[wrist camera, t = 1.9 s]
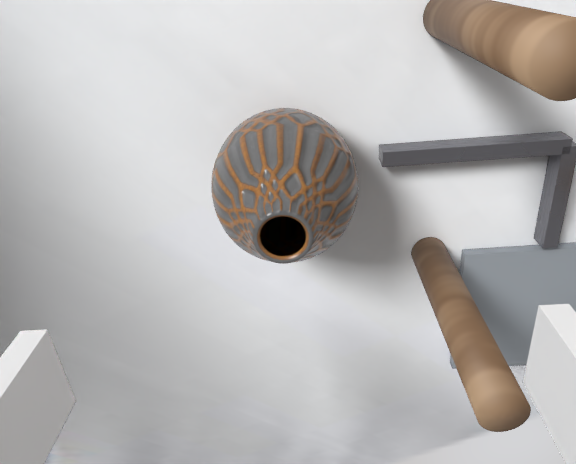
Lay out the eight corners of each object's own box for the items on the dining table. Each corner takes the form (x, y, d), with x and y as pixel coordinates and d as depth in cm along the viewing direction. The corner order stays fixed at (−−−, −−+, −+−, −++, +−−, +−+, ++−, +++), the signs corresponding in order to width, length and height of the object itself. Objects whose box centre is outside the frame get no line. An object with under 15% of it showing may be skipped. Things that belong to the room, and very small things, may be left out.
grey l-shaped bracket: (377, 247, 29) (381, 258, 28) (379, 144, 26) (382, 152, 25) (547, 237, 29) (557, 247, 28) (569, 130, 26) (580, 138, 25)
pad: (449, 362, 34) (452, 368, 33) (462, 249, 29) (465, 254, 29) (584, 355, 33) (589, 361, 33) (617, 240, 29) (623, 245, 28)
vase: (362, 196, 28) (389, 287, 20) (247, 228, 29) (230, 325, 21) (331, 76, 25) (348, 129, 17) (203, 116, 26) (164, 183, 18)
